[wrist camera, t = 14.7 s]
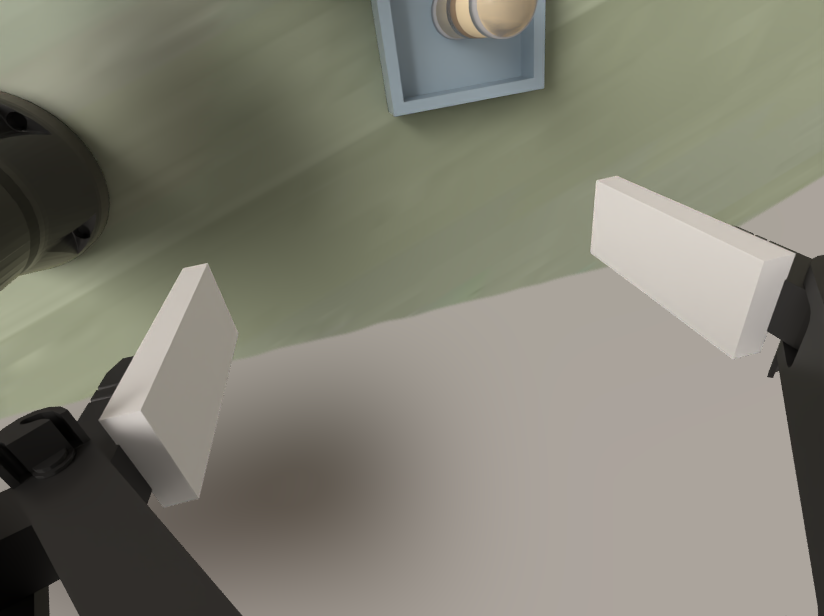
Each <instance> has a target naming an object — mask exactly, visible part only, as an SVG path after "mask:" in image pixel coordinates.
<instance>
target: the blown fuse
mask: <svg viewBox="0 0 824 616" xmlns="http://www.w3.org/2000/svg"><path fill="white" fill-rule="evenodd" d="M537 2H538V0H433V1H432V6H431V17H432V22H433V25H434V27H435V29H436V30H437V31H438V33H439V34H440V35H442V36H443V37H445V38H447V39H452V40H459V39H464V38H468V39H478V38H491V39H508V38H512V37H514V36H516V35H518V34H520V33H521V32H522V31H523V30H524V29H525V28H526V27H527V26H528V25H529V23H530V22H531V20H532V18H533V16H534V14H535V11H536V7H537Z"/></svg>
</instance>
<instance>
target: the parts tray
mask: <svg viewBox="0 0 824 616" xmlns="http://www.w3.org/2000/svg"><path fill="white" fill-rule="evenodd" d="M432 1H433V0H371V5H372V11H373V17H374V23H375V30H376V36H377V42H378V49H379V55H380V61H381V67H382V74H383V80H384V86H385V92H386V99H387V105H388V111H389V112H390V113H391V114H392V115H393V116H394V117H395V116H400V115H406V114H411V113H416V112H422V111H427V110H432V109H437V108H443V107H448V106H453V105H458V104H464V103H469V102H474V101H479V100H485V99H490V98H495V97H500V96H506V95H511V94H516V93H521V92H527V91H532V90H537V89H543V88H544V65H545V1H546V0H538V2H537V7H536V11H535V14H534V16H533V18H532V20H531V22H530V23H529V25H528V26H527V27H526V28H525V29H524V30H523V31H522V32H521V33H520V34H518V35H516V36H514V37H512V38H508V39H491V38H478V39H468V38H464V39H459V40H452V39H447V38H445V37H443V36H442V35H440V34H439V33H438V31H437V30H436V29H435V27H434V25H433V22H432V17H431V6H432Z"/></svg>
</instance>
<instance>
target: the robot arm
mask: <svg viewBox="0 0 824 616" xmlns="http://www.w3.org/2000/svg"><path fill="white" fill-rule="evenodd" d="M108 213H109V195H108V189H107V185H106V182H105V179H104V176H103V173H102V171H101V169H100V167H99V165H98V163H97V162H96V160H95V158H94V157H93V155H92V154H91V152H90V151H89V150H88V148H87V147H86V146H85V144H84V143H83V142H82V141H81V140H80V139H79V138H78V137H77V136H76V135H75V134H74V133H73V132H72V131H71V130H70V129H69V128H68V127H67V126H66V125H64V124H63V123H62V122H61V121H59V120H58V119H57V118H55V117H54V116H52V115H51V114H50V113H48V112H46V111H45V110H43V109H41V108H40V107H38V106H36V105H34V104H32V103H30V102H28V101H26V100H23V99H21V98H19V97H16V96H13V95H10V94H7V93H4V92H0V291H1V290H2V289H4V288H5V287H6V286H7V285H8V284H10V283H11V282H12V281H13V280H14V279H15V278H17V277H18V276H20V275H24V274H29V273H33V272H38V271H42V270H46V269H51V268H54V267H57V266H60V265H63V264H65V263H67V262H69V261H71V260H73V259H75V258H76V257H78V256H79V255H80V254H82V253H83V252H84V251H85V250H86V249H87V248H88V247H89V246H90V245H92V244H93V243H94V242H95V241H96V239H97V238H98V237H99V236H100V234H101V232H102V231H103V229H104V227H105V224H106V221H107V218H108ZM590 253H591V254H593V255H594V256H595V257H597V258H598V259H599V260H601V261H602V262H603V263H605V264H606V265H607V266H609V267H610V268H611V269H613V270H614V271H616V272H617V273H618V274H619V275H621V276H622V277H623V278H625V279H626V280H627V281H629V282H630V283H631V284H633V285H634V286H636V287H637V288H638V289H640V290H641V291H642V292H643V293H645V294H646V295H647V296H649V297H650V298H651V299H653V300H654V301H655V302H657V303H658V304H659V305H661V306H662V307H663V308H665V309H666V310H668V311H669V312H670V313H672V314H673V315H674V316H675V317H677V318H678V319H679V320H681V321H682V322H683V323H685V324H686V325H687V326H689V327H690V328H692V329H693V330H694V331H695V332H697V333H698V334H699V335H701V336H702V337H704V338H705V339H706V340H707V341H709V342H710V343H711V344H713V345H714V346H715V347H717V348H718V349H719V350H721V351H722V352H723V353H725V354H726V355H728V356H729V357H730V358H732V359H736V358H741V357H744V356H748V355H752V354H756V353H760V352H761V349H762V347H763V344H764V341H765V338H766V335H767V333H768V332H769V333H771V334H773V335H774V336H776V337H777V338H779V339H781V341H780V343H779V346H778V349H777V351H776V354H775V357H774V359H773V362H772V365H771V367H770V370H769V373H768V376H767V377H771V378H773V376H774V374H775V372H777V371H779V373H780V379H781V385H782V391H783V397H784V403H785V409H786V415H787V422H788V428H789V434H790V440H791V446H792V452H793V457H794V464H795V470H796V476H797V482H798V488H799V495H800V501H801V506H802V513H803V519H804V525H805V531H806V537H807V543H808V549H809V555H810V561H811V567H812V574H813V579H814V586H815V592H816V598H817V604H818V616H824V255H821V256H817V257H815V258H813V259H811V258H809V257H806V256H804V255H802V254H799V253H797V252H795V251H793V250H790V249H788V248H786V247H783V246H781V245H779V244H776V243H774V242H772V241H767V239H765V238H762V237H760V236H758V235H755V236H754V234H753V233H751V232H748V231H746V230H744V229H742V228H739V227H737V226H732V225H729V224H727V223H724V222H722V221H720V220H717V219H715V218H713V217H710V216H708V215H706V214H704V213H701V212H699V211H697V210H694V209H692V208H690V207H687V206H685V205H683V204H681V203H678V202H676V201H674V200H671V199H669V198H667V197H665V196H662V195H660V194H658V193H655V192H653V191H651V190H648V189H646V188H644V187H642V186H639V185H637V184H635V183H632V182H630V181H628V180H625V179H623V178H621V177H619V176H614V177H609V178H605V179H600V180H596V190H595V203H594V215H593V227H592V240H591V252H590ZM237 337H238V331H237V329H236V326H235V324H234V322H233V320H232V317H231V315H230V313H229V310H228V308H227V306H226V304H225V301H224V299H223V297H222V294H221V292H220V290H219V288H218V285H217V283H216V281H215V278H214V276H213V274H212V272H211V269H210V267H209V265H208V263H205V264H200V265H196V266H191V267H186V268H183V269H182V271H181V273H180V274H179V276H178V278H177V280H176V282H175V283H174V285H173V287H172V289H171V291H170V292H169V294H168V296H167V298H166V300H165V301H164V303H163V305H162V307H161V309H160V310H159V312H158V314H157V316H156V318H155V320H154V321H153V323H152V325H151V327H150V329H149V330H148V332H147V334H146V336H145V338H144V339H143V341H142V343H141V345H140V347H139V348H138V350H137V352H136V354H135V356H132V357H127V358H123V359H122V360H121V361H120V362H118V363H117V364H116V365H115V366H114V367H113V368H112V369H111V370H110V371H109V372H107V374H106V375H105V377H104V378H103V380H102V382H101V383H100V385H99V387H98V390H97V391H96V392H95V393H94V395H93V397H92V398H91V403H88V405H87V406H86V408H85V410H84V411H83V413H82V415H81V416H80V418H79V420H78V421H76V420H75V419H74V417H73V416H72V415H71V413H70V412H69V411H68V410H67V409H65V408H63V407H47V408H44V409H41V410H37V411H34V412H32V413H30V414H27V415H26V416H23V417H21V418H19V419H17V420H16V421H14V422H13V423H11V424H10V425H8V426H6V427H5V428H3V429H2V430H1V431H0V477H1V478H2V479H3V480H4V481H5V482H6V483H7V484H8V485H9V486H10V487H11V488H9V489H7V490H5V491H3V492H1V493H0V616H49V587H48V586H49V585H50V584H52V583H54V582H55V581H57V580H59V579H60V580H61V581H62V583H63V585H64V587H65V589H66V591H67V593H68V595H69V597H70V598H71V600H72V602H73V604H74V606H75V608H76V610H77V612H78V614H79V615H80V616H242V615H241V614H240V612H239V611H238V610H237V609H236V608H235V607H234V606H233V604H232V603H231V602H230V601H229V600H228V598H227V597H226V596H225V595H224V594H223V593H222V591H221V590H220V589H219V588H218V587H217V586H216V585H215V583H214V582H213V581H212V580H211V579H210V578H209V576H208V575H207V574H206V573H205V572H204V571H203V569H202V568H201V567H200V566H199V565H198V564H197V562H196V561H195V560H194V559H193V558H192V557H191V556H190V554H189V553H188V552H187V551H186V550H185V548H184V547H182V545H181V544H180V543H179V542H178V540H177V539H176V538H175V537H174V536H173V534H172V533H171V532H170V531H169V530H168V529H167V527H166V526H165V525H164V524H163V523H162V522H161V521H160V519H159V518H158V517H157V516H156V515H155V514H154V512H153V511H152V510H151V509H150V508H149V507H148V505H147V503H148V500H149V497H150V495H151V492H152V493H153V494H154V496H155V497H156V498H157V499H158V501H159V502H160V504H161V505H162V506H163V507H168V506H172V505H176V504H180V503H184V502H188V501H192V500H195V499H199V496H200V492H201V487H202V483H203V479H204V475H205V471H206V467H207V462H208V458H209V453H210V450H211V446H212V441H213V437H214V433H215V429H216V425H217V421H218V417H219V412H220V408H221V404H222V400H223V396H224V391H225V387H226V383H227V379H228V375H229V371H230V367H231V362H232V358H233V354H234V350H235V346H236V342H237Z"/></svg>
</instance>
